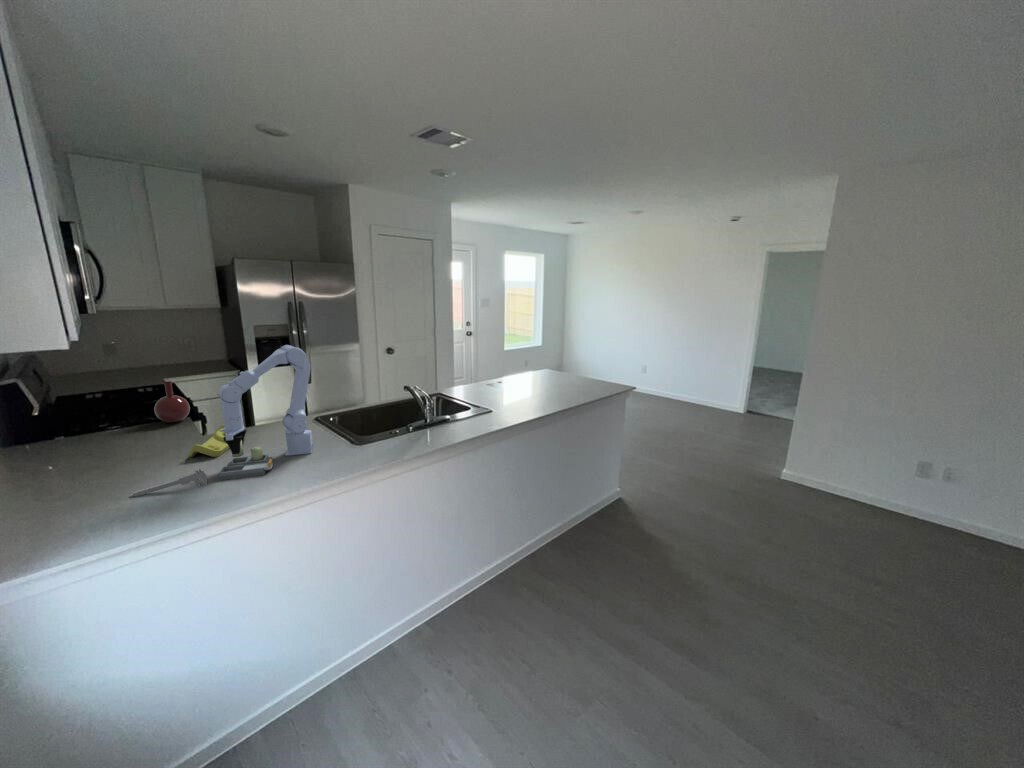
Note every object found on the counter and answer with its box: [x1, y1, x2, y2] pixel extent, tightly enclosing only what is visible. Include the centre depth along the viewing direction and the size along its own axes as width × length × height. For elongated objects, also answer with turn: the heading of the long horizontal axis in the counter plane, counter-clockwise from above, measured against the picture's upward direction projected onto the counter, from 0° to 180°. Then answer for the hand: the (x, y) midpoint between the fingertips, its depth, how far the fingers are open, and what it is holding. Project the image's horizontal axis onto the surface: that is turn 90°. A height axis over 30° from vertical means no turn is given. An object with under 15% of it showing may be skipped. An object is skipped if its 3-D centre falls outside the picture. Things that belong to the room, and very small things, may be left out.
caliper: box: [128, 468, 208, 498], centre depth 132 cm, size 20×1×6 cm, turn 117°
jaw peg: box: [231, 440, 245, 458], centre depth 149 cm, size 4×4×6 cm
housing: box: [218, 446, 273, 480], centre depth 148 cm, size 14×13×7 cm
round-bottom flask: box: [153, 380, 191, 423], centre depth 192 cm, size 13×13×20 cm
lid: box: [242, 458, 274, 471], centre depth 146 cm, size 9×4×3 cm, turn 110°
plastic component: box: [188, 423, 230, 458], centre depth 166 cm, size 20×7×10 cm
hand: (237, 451), depth 149 cm, fingers closed on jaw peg, 4 cm apart
